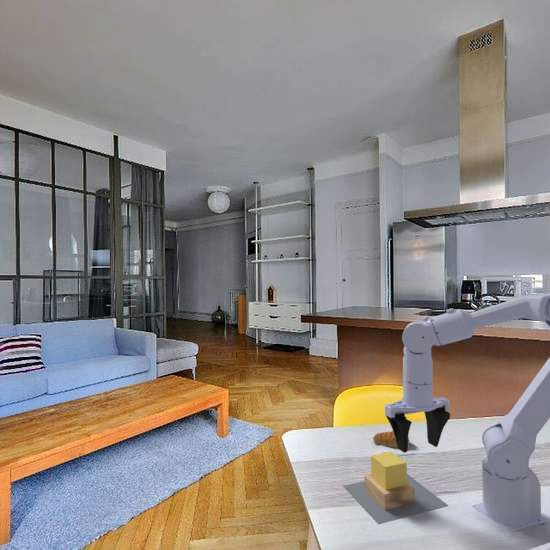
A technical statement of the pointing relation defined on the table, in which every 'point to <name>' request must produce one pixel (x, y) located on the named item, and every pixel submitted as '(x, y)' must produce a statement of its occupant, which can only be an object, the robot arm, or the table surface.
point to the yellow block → (388, 470)
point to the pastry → (386, 439)
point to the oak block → (389, 494)
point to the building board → (422, 504)
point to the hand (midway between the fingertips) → (417, 447)
